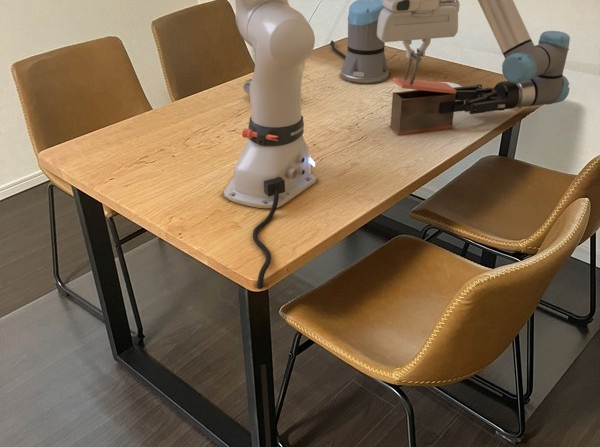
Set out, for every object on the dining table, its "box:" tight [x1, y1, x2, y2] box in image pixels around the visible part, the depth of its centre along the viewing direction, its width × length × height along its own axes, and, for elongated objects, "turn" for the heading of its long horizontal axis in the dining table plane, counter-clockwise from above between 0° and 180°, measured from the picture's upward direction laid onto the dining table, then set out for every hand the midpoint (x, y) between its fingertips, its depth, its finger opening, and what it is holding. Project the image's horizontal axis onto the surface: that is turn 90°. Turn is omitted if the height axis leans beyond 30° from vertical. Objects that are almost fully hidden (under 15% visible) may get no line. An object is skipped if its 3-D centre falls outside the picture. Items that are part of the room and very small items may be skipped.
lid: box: [392, 52, 457, 94], centre depth 158 cm, size 16×6×8 cm, turn 105°
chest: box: [389, 89, 456, 136], centre depth 163 cm, size 15×6×10 cm, turn 105°
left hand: (415, 56), depth 155 cm, fingers closed, pressing on lid
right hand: (434, 103), depth 163 cm, fingers closed on chest, 6 cm apart
